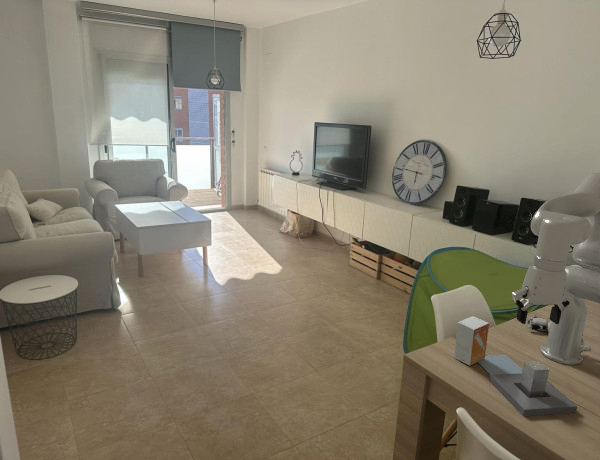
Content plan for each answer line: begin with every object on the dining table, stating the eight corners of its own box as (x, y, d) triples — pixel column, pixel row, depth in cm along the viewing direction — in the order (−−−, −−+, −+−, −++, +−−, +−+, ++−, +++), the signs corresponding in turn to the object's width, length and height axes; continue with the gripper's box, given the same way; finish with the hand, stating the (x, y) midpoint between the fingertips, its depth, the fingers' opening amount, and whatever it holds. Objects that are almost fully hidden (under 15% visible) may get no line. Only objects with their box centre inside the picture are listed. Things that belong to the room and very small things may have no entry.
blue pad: (505, 355, 146) (505, 354, 146) (528, 376, 134) (529, 375, 134) (472, 357, 144) (472, 356, 144) (493, 378, 132) (493, 377, 132)
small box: (470, 366, 138) (474, 329, 134) (453, 357, 143) (456, 321, 139) (485, 358, 142) (489, 322, 139) (468, 350, 147) (472, 315, 144)
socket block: (536, 378, 134) (537, 372, 133) (575, 412, 118) (577, 406, 118) (489, 380, 131) (490, 374, 131) (523, 416, 116) (524, 409, 115)
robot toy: (524, 334, 164) (571, 344, 155) (526, 323, 163) (572, 332, 154) (529, 322, 173) (573, 331, 165) (530, 312, 172) (574, 320, 164)
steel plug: (532, 390, 127) (538, 360, 125) (542, 400, 123) (549, 369, 120) (518, 391, 126) (524, 361, 124) (528, 401, 122) (535, 370, 120)
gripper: (570, 259, 120) (557, 316, 124) (511, 258, 118) (500, 315, 123) (589, 269, 113) (575, 328, 117) (527, 268, 111) (515, 328, 116)
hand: (537, 321), depth 120 cm, fingers open, 9 cm apart
